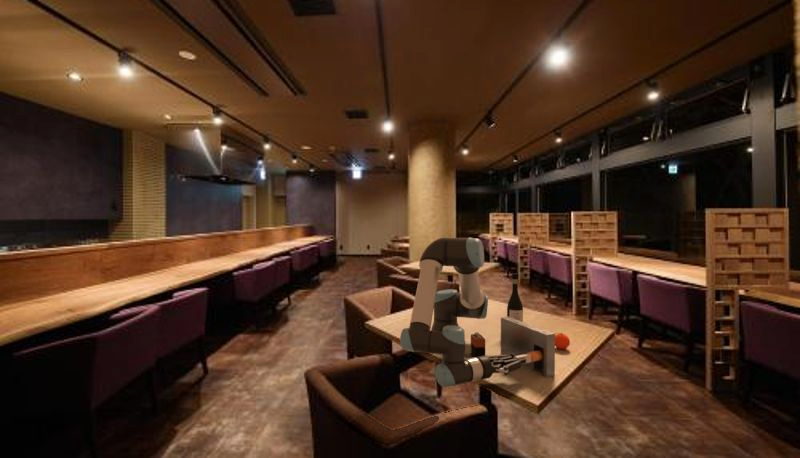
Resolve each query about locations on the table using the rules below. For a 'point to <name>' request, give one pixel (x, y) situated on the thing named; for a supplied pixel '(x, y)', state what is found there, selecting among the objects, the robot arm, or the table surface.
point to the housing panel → (528, 344)
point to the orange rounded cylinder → (536, 355)
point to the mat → (468, 355)
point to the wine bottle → (515, 301)
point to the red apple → (561, 341)
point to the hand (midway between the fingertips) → (529, 357)
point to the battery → (477, 345)
